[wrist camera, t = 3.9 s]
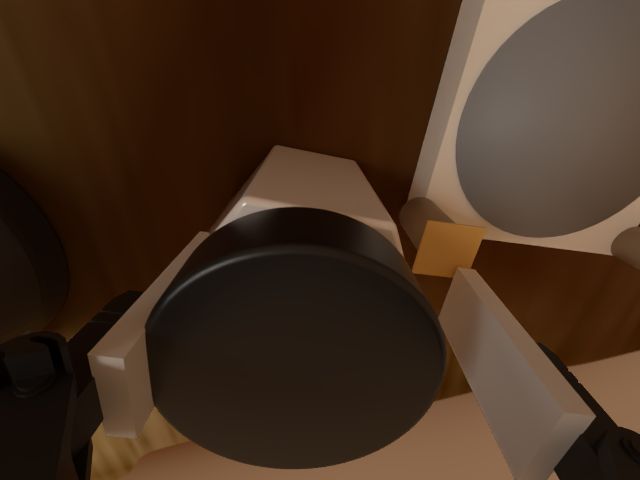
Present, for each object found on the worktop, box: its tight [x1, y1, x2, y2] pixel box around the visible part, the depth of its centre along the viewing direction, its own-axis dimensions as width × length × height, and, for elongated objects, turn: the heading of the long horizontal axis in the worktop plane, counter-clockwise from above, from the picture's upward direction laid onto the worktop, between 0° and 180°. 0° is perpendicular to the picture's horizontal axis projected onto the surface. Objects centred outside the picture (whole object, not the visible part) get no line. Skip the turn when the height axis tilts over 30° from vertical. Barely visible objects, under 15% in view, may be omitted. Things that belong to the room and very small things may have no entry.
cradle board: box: [399, 0, 640, 278], centre depth 14 cm, size 15×16×7 cm
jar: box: [144, 145, 446, 469], centre depth 14 cm, size 9×8×12 cm
